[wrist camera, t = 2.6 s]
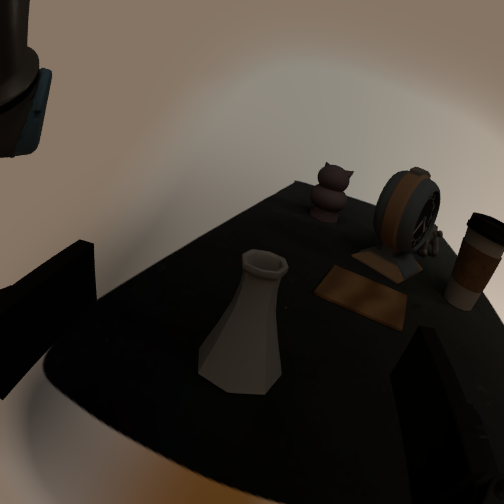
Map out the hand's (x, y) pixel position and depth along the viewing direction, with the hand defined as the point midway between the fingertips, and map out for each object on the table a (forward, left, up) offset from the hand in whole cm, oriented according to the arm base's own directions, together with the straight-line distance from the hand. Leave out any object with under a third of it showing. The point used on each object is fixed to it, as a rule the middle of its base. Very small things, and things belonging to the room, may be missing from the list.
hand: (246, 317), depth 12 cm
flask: (-3, +9, -12) cm, 16 cm away
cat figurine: (-11, +58, -12) cm, 61 cm away
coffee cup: (+20, +42, -12) cm, 48 cm away
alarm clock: (+6, +46, -12) cm, 48 cm away
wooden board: (+4, +30, -12) cm, 33 cm away
